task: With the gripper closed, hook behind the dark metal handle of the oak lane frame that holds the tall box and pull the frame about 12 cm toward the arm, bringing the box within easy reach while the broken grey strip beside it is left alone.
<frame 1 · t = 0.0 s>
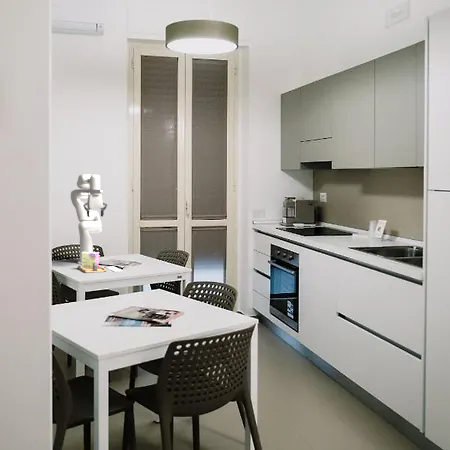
hand: (95, 216, 416), 37 cm above the table, tool pointing down, fingers open, 9 cm apart
lane frame: (91, 265, 409), point 3 cm above the table, slide at 3.5 cm, touching box
box: (90, 269, 412), on the table, touching lane frame
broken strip: (114, 269, 413), on the table
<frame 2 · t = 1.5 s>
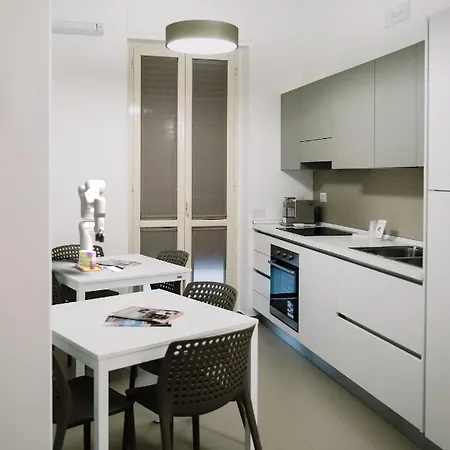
hand: (99, 241, 392), 22 cm above the table, tool pointing down, fingers open, 9 cm apart
lane frame: (89, 264, 415), point 3 cm above the table, slide at 10.3 cm, touching box
box: (87, 267, 418), on the table, touching lane frame
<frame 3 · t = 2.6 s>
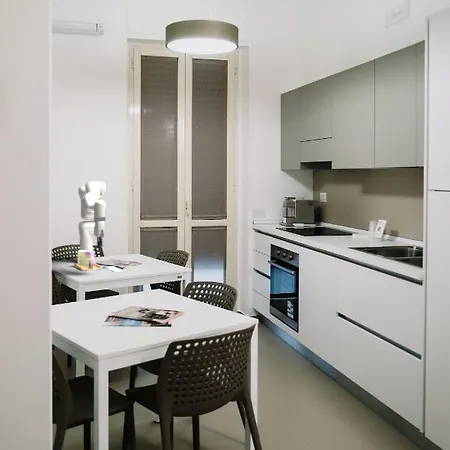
hand: (99, 247, 390), 19 cm above the table, tool pointing down, fingers closed
lane frame: (87, 263, 418), point 3 cm above the table, slide at 13.8 cm, touching box
box: (86, 267, 421), on the table, touching lane frame
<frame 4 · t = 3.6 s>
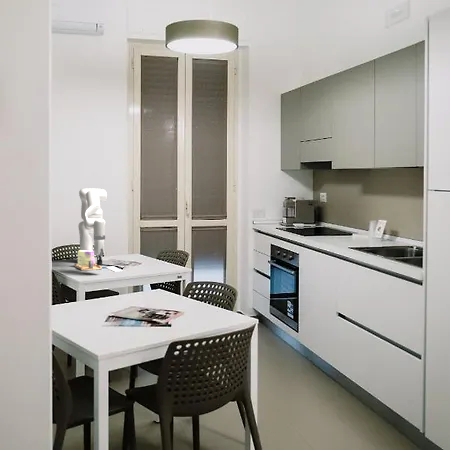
hand: (99, 265, 392), 6 cm above the table, tool pointing down, fingers closed
nothing on the table moved.
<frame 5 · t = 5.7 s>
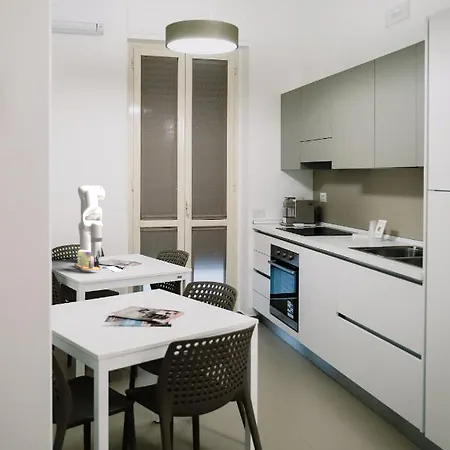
hand: (96, 266, 399), 4 cm above the table, tool pointing down, fingers closed
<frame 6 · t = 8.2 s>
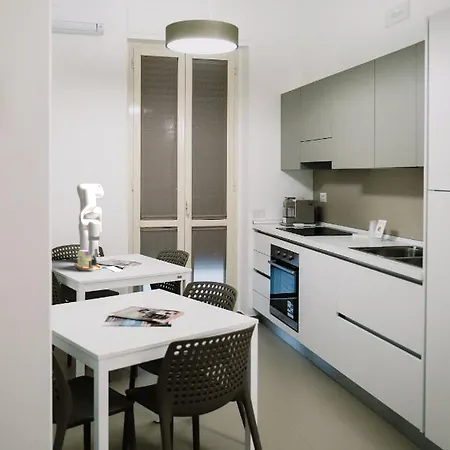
hand: (93, 265, 404), 4 cm above the table, tool pointing down, fingers closed
nothing on the table moved.
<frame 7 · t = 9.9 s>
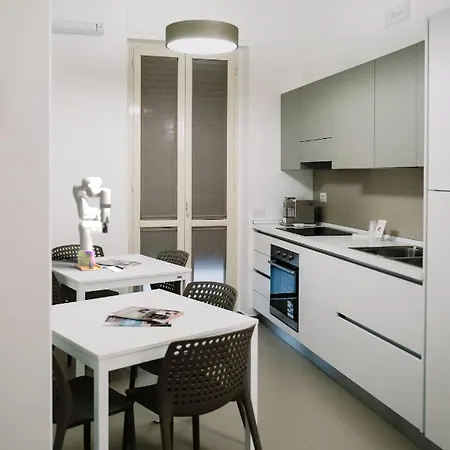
hand: (105, 232, 409), 26 cm above the table, tool pointing down, fingers closed
lane frame: (88, 263, 418), point 3 cm above the table, slide at 13.3 cm, touching box
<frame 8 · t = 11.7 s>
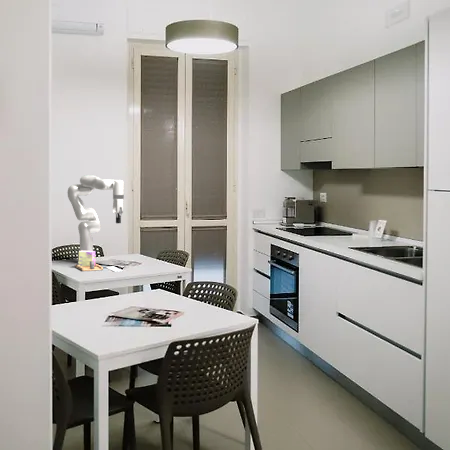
hand: (118, 223, 418), 32 cm above the table, tool pointing down, fingers closed
lane frame: (88, 264, 416), point 3 cm above the table, slide at 10.9 cm, touching box
box: (87, 267, 419), on the table, touching lane frame
at the end: box inside the target area (1.2 cm from its centre), on the table; box tilted 0°; lane frame slide at 10.8 cm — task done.
